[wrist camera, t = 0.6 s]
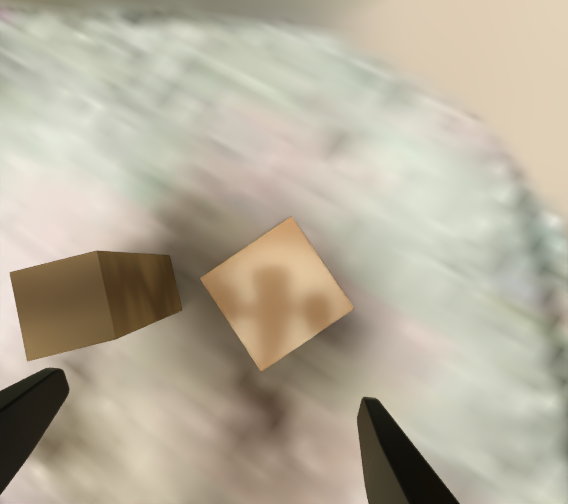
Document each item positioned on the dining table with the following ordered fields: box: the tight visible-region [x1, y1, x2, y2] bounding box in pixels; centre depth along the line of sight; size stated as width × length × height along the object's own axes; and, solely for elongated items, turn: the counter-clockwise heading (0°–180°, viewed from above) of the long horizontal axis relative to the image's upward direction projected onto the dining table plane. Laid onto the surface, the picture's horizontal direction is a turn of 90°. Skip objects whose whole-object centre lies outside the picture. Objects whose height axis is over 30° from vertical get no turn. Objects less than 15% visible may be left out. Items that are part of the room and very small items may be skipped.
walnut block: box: [10, 251, 182, 361], centre depth 19 cm, size 5×5×9 cm
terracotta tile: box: [200, 217, 354, 372], centre depth 23 cm, size 9×9×2 cm
